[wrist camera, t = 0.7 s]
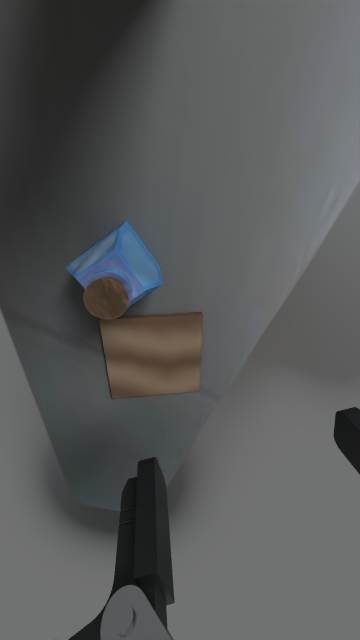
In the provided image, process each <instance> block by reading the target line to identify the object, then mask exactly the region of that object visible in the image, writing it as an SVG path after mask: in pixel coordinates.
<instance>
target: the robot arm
mask: <svg viewBox="0 0 360 640" xmlns="http://www.w3.org/2000/svg"><path fill="white" fill-rule="evenodd" d="M334 439H335V442H336V444H337V446H338V448H339V449H340V450H341V452H342V453H343V454H344V455H345V457H346V458H347V459H348V460H349V462H350V463H351V464H352V465H353V467H354V468H355V469H356V470H357V472H358V473H359V474H360V409H358V408H356V407H353V408H349V409H345V410H341V411H337V412H336V416H335V427H334ZM119 523H120V526H119V531H118V543H117V554H116V564H115V576H114V583H113V587H112V591H111V594H110V597H109V599H108V601H107V603H106V605H105V606H104V608H103V610H102V611H101V613H100V614H99V615H98V616H97V617H96V618H95V619H94V620H93V621H92V622H91V623H89V624H88V625H87V626H85V627H84V628H83V629H81V630H80V631H79V632H78V633H76V634H75V635H74V636H72V637H71V638H70V639H69V640H173V638H172V636H171V635H170V633H169V631H168V630H167V613H166V605H169V604H173V603H174V590H173V575H172V561H171V546H170V533H169V532H170V531H169V517H168V502H167V491H166V484H165V479H164V476H163V473H162V471H161V468H160V466H159V463H158V460H157V458H156V457H153V458H149V459H145V460H141V461H139V462H138V471H137V477H134V478H130V479H128V480H127V483H126V485H125V487H124V490H123V492H122V498H121V512H120V520H119Z"/></svg>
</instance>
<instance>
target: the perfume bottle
mask: <svg viewBox="0 0 360 640" xmlns="http://www.w3.org/2000/svg"><path fill="white" fill-rule="evenodd" d="M66 269H67V270H68V271H69V272H70V273H71V274H72V275H73V276H74V278H75V279H76V280H77V281H78V282H79V283H80V284H81V285H82V286H83V287H84V288H85V291H84V293H83V301H84V304H85V306H86V308H87V309H88V311H89V312H90V313H91V314H93V315H94V316H96V317H98V318H101V319H107V320H110V319H115V318H118V317H120V316H121V315H122V314H123V313H125V312H126V310H127V308H128V307H129V306H131V305H132V304H134V303H135V302H137V301H138V300H140V299H141V298H143V297H144V296H146V295H147V294H149V293H150V292H152V291H153V290H155V289H156V288H158V287H159V286H161V285H162V284H163V282H162V276H161V270H160V267H159V265H158V264H157V262H156V261H155V260H154V258H153V257H152V255H151V254H150V253H149V251H148V250H147V248H146V247H145V246H144V244H143V243H142V241H141V240H140V238H139V237H138V236H137V234H136V233H135V231H134V230H133V229H132V227H131V226H130V224H129V223H128V222H127V221H125V222H124V223H123V224H121V225H120V226H119V227H117V228H116V229H115V230H113V231H112V232H111V233H109V234H108V235H107V236H105V237H104V238H103V239H101V240H100V241H99V242H97V243H96V244H95V245H93V246H92V247H90V248H89V249H88V250H86V251H85V252H84V253H82V254H81V255H80V256H79V257H78V258H77V259H75V260H74V261H73V262H72V263H71V264H70V265H68V266H67V267H66Z"/></svg>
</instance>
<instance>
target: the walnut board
mask: <svg viewBox="0 0 360 640" xmlns="http://www.w3.org/2000/svg"><path fill="white" fill-rule="evenodd" d="M202 318H203V314H202V312H193V313H173V314H153V315H133V316H120V317H118V318H115V319H110V320H107V319H101V318H100V319H99V323H100V329H101V335H102V341H103V347H104V353H105V359H106V364H107V370H108V376H109V382H110V388H111V394H112V399H114V398H125V397H137V396H149V395H161V394H173V393H185V392H197V391H199V383H200V361H201V340H202Z"/></svg>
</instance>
